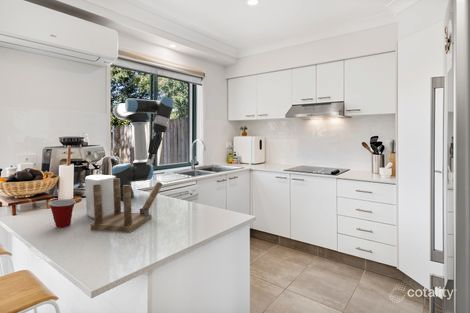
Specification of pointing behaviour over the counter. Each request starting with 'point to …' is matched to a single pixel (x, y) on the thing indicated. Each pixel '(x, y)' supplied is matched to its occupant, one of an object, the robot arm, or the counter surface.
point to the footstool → (116, 211)
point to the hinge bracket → (144, 212)
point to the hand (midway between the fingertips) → (148, 164)
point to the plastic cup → (62, 212)
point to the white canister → (106, 194)
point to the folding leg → (152, 196)
